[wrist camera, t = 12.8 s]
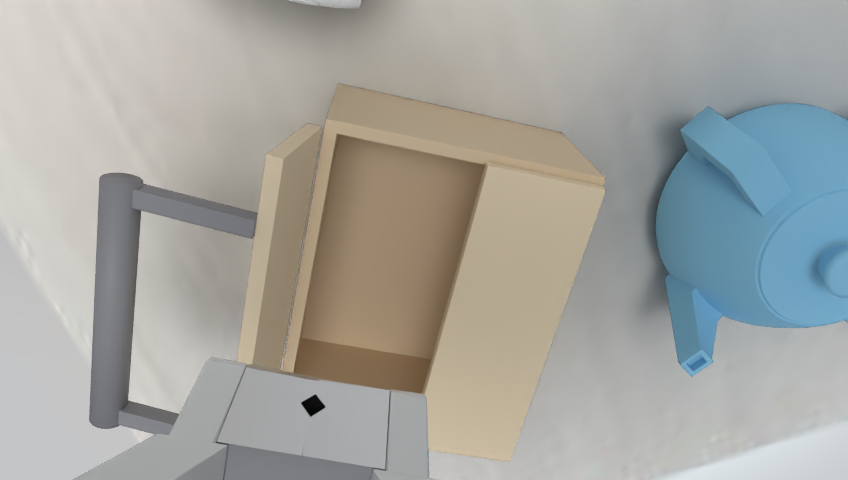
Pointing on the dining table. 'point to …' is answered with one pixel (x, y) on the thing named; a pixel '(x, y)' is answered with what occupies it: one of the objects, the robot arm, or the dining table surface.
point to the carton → (440, 260)
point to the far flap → (270, 227)
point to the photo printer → (331, 3)
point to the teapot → (755, 224)
